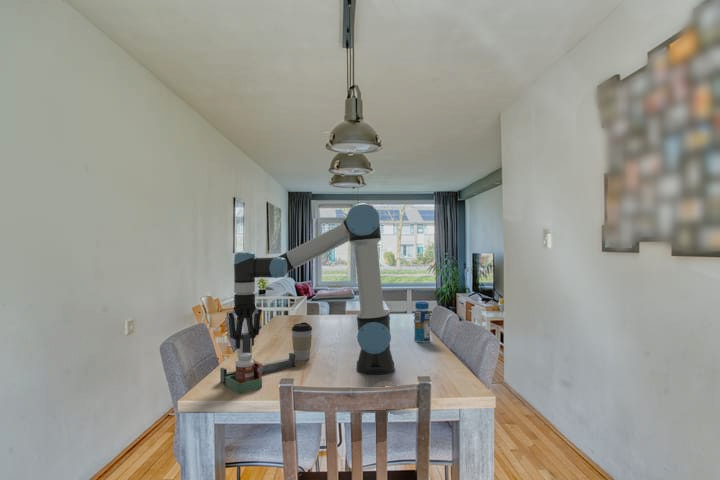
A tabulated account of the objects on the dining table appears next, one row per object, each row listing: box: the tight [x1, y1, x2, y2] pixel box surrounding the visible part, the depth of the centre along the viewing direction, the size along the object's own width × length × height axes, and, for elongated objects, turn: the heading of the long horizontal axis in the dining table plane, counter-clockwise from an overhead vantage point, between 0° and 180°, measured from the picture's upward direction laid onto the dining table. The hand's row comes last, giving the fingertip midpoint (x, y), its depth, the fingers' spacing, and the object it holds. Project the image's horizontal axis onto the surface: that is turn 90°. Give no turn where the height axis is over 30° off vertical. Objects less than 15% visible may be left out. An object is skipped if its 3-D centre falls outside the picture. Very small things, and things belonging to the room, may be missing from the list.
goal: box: [224, 374, 263, 395], centre depth 136 cm, size 11×8×3 cm
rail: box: [219, 352, 296, 385], centre depth 150 cm, size 3×30×5 cm, turn 132°
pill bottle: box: [235, 353, 254, 383], centre depth 137 cm, size 6×6×11 cm
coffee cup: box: [291, 322, 313, 361], centre depth 171 cm, size 9×9×15 cm
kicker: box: [235, 332, 263, 380], centre depth 142 cm, size 14×6×16 cm, turn 42°
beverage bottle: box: [413, 301, 431, 344], centre depth 201 cm, size 8×8×20 cm
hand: (244, 355), depth 146 cm, fingers closed on kicker, 3 cm apart
